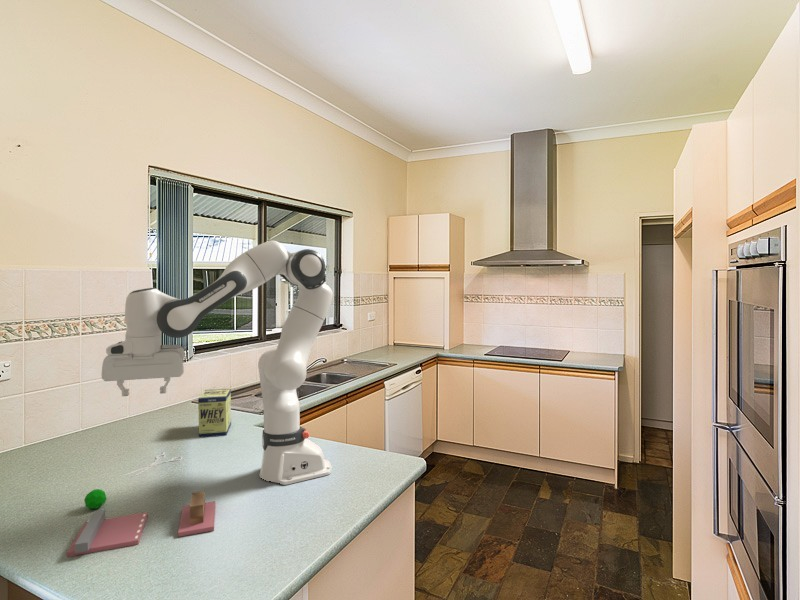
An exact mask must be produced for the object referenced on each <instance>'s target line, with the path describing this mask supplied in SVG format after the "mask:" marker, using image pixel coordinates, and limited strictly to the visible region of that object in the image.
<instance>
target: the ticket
mask: <svg viewBox="0 0 800 600" xmlns="http://www.w3.org/2000/svg"><path fill="white" fill-rule="evenodd" d="M148 516H149V512H148V511H146V512H139V513H135V514H134V513H133V514H126V515H122V516H115V517H114V516H113V517H108V518H107V517H106V509H100V510H98V509H97V510H94V511H93V513H92V514H91V516H90V518H89V520H88V521H84V523H83V525H82V526H81V528H80V530H79V532H78V533H77V534H76V536H75V538H74V540H73V541H72V543H71V545H70V547H69V549H68V550H67V553H66V556H67V557H68V558H69V557H74V556H79V555H81V556H82V555H86V554H90V553H91V554H92V553H97V552H102V551H103V552H104V551H109V550H114V549H120V548H126V547H130V546H136V545H139V543H140V540H141V539H142V534H143V532H144V528H145V525H146V523H147V519H148Z"/></svg>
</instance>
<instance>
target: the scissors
mask: <svg viewBox="0 0 800 600" xmlns="http://www.w3.org/2000/svg"><path fill="white" fill-rule="evenodd" d="M166 456H167V455H166V452H162V453H161V454H159V455H156V456H155V460H154V461H153V462H152V463H151V464H149V465H148V466H145V467H143V468H140V469H137V470H134V471H131V472H129V473H126V474H123V475H122V477H123V476H127V475H129V474H133V473H135V472H137V473H136V474H135V475H133V476H131V478H134V477H136V476H137V475H140V474H142V473H144V472H145V471H147V470H149V469H151V468H152V467H155V466H159V465H161V464H166V463H169V462H178V461H181V460H182V459H183V456H176V457H173V458H171V459H169V460H166V461H161V462H158V461H159V460H161V459H165V458H166Z"/></svg>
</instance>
